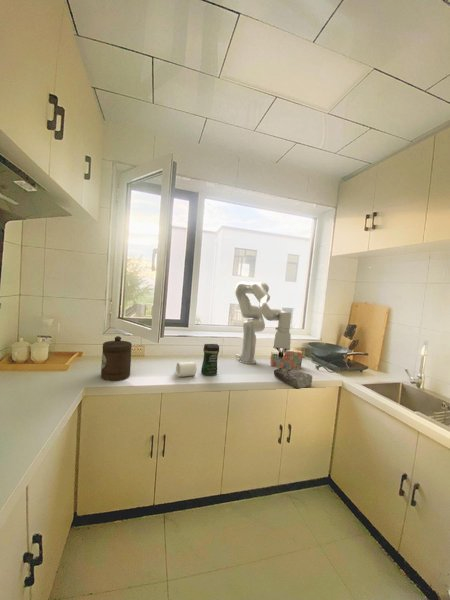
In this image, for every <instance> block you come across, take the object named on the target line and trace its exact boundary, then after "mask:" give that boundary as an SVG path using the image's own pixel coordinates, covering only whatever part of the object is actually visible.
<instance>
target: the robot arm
mask: <svg viewBox="0 0 450 600" xmlns="http://www.w3.org/2000/svg"><path fill="white" fill-rule="evenodd" d="M269 290H270V288H269V285H268V284H267V283H266V282H259V281H256V282H247V281H240V282H238V283H237V284H236V286H235V289H234V292H235V294H234V295H235V297H236V300H237V302H238V306H239V309H240V313H241V315H242V317H243V318H244V319H246V320H245V321H244V322H243V324H242V330H243V335H242V337H243V338H242V348H241V354H238V353H236V354H235V358H238V361H239V362H240V363H243V364H247V365H253V364H256V363H257V359H255V354H256V347H257V346H256V345H257V336H256V333H257V332H263V331H264V329H265V327H266V324H265V320H267V321H268V322H269V321H270V322H271V321H272V322H273V321H275V322H277V321H278V323H277V327H275V330H276V331H275V334H274V341H273V349H275V350H277V352H279V355H278V357H279V358H281V359H282V357H283V353H284V352H285V351H286V350H290V349H291V338H292V337H291V335H292V334H291V332H290V330H291V320H292V312H290V311H286V310H282V309H277V308H273V309H271V308H270V306H269V304H268V302H269V301H270V299H271V296H270V294H269ZM247 294H248V295H249V294H251V295H254V298H256V299H257V301H258V303H259V305H258V306H257V305H252V303H251V300H250V298H249V296H248V295H247ZM264 319H265V320H264ZM281 349H282V350H281Z"/></svg>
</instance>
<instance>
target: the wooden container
mask: <svg viewBox="0 0 450 600" xmlns="http://www.w3.org/2000/svg"><path fill="white" fill-rule="evenodd" d="M101 352H102V354H101V368H100V369H101V370H100V378H101V379H102V380H104V381H108V380H109V381H112V382H116V381H122V380H126V379H128V378H129V377H130V376H131V364H132V363H131V362H132V342H131V341H127V340H122V337H121V336H119V335H117V336H115V337H114V340H110V341H105V342H103V343H102V351H101ZM109 381H108V382H109Z"/></svg>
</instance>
